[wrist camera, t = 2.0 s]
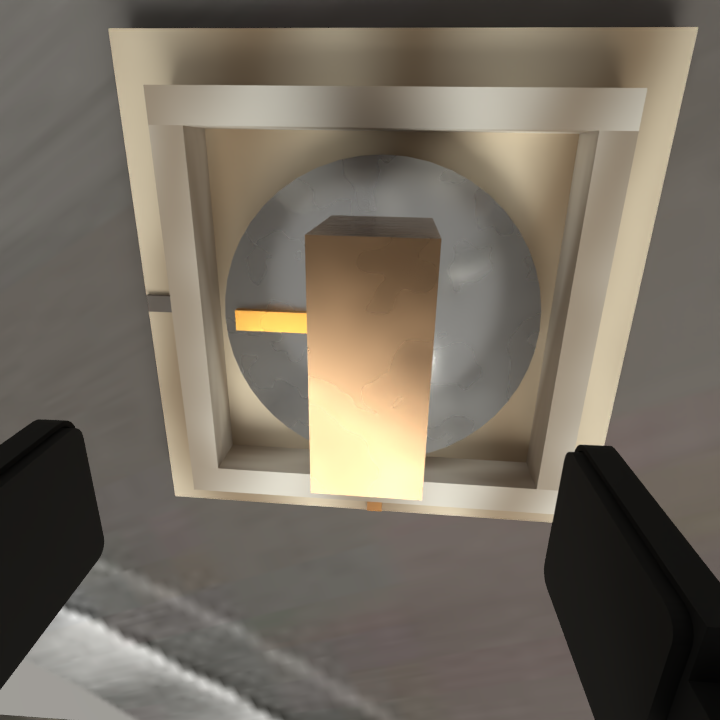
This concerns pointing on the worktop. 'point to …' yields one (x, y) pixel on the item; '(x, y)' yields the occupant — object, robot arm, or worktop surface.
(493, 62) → the dial board
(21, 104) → the worktop surface
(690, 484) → the worktop surface
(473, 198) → the dial
